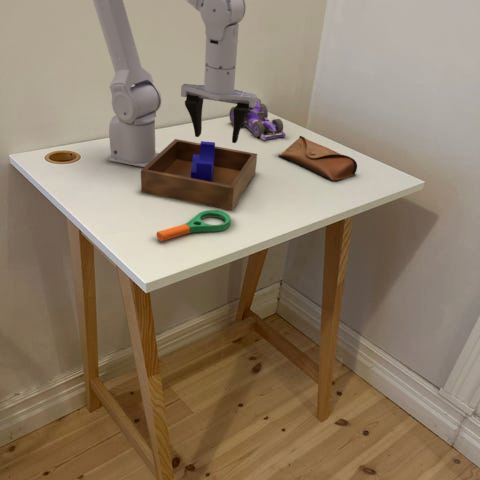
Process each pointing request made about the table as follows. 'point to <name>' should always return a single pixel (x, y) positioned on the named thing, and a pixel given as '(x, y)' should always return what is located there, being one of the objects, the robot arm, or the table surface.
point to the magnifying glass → (196, 225)
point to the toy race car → (260, 122)
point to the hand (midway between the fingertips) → (216, 138)
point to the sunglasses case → (320, 159)
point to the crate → (194, 190)
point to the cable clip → (204, 162)
